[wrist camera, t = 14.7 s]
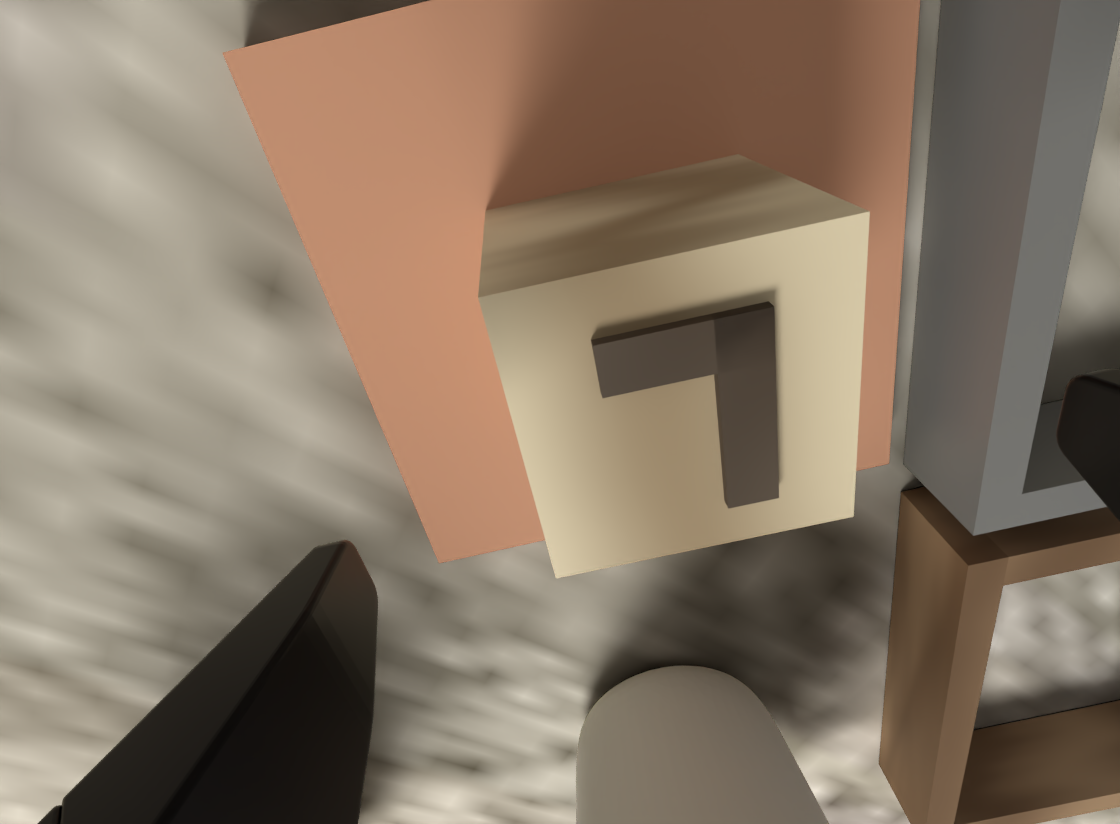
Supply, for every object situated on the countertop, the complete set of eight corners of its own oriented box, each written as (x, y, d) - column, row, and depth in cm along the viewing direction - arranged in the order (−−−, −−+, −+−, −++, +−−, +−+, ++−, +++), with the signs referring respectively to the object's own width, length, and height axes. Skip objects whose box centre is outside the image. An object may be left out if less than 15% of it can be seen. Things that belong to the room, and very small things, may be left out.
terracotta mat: (895, -112, 11) (928, -126, 10) (869, 442, 17) (889, 463, 16) (243, 52, 12) (221, 52, 11) (442, 537, 18) (438, 563, 17)
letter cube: (737, 153, 12) (877, 215, 8) (749, 379, 15) (859, 524, 10) (485, 210, 12) (477, 303, 8) (539, 424, 15) (556, 587, 10)
